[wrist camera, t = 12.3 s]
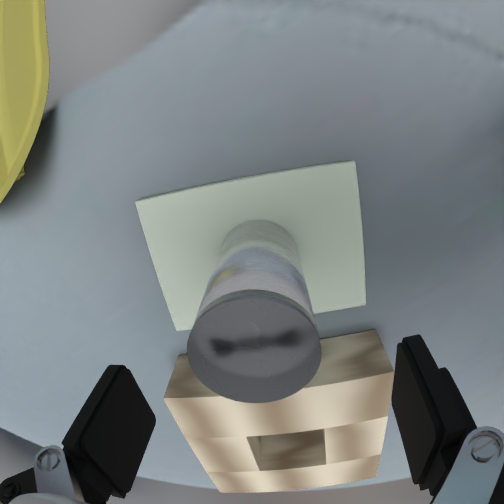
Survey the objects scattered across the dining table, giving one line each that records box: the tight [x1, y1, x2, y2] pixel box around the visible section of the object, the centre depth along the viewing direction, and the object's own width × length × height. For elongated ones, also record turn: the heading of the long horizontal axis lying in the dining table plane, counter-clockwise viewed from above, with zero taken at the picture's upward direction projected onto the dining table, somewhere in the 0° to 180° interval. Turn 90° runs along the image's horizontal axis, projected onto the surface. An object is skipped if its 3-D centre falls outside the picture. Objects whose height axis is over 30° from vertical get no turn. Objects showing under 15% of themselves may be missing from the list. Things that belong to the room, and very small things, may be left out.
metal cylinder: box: [187, 220, 322, 403], centre depth 16 cm, size 5×5×10 cm
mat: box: [135, 160, 366, 331], centre depth 21 cm, size 14×10×1 cm
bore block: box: [164, 329, 394, 493], centre depth 25 cm, size 16×16×5 cm
